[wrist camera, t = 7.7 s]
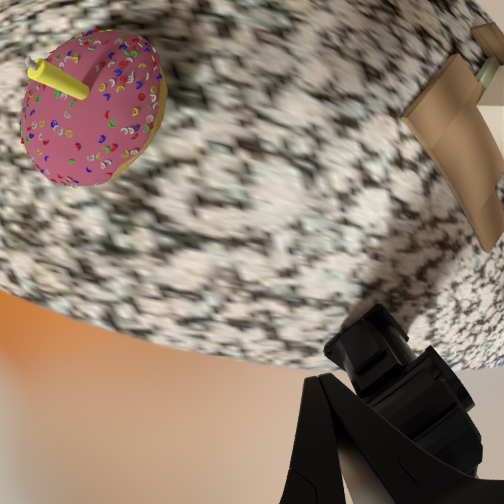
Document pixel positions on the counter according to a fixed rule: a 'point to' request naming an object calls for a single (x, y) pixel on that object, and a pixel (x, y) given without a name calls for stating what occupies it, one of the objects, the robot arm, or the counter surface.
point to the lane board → (464, 134)
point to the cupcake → (92, 107)
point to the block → (494, 107)
